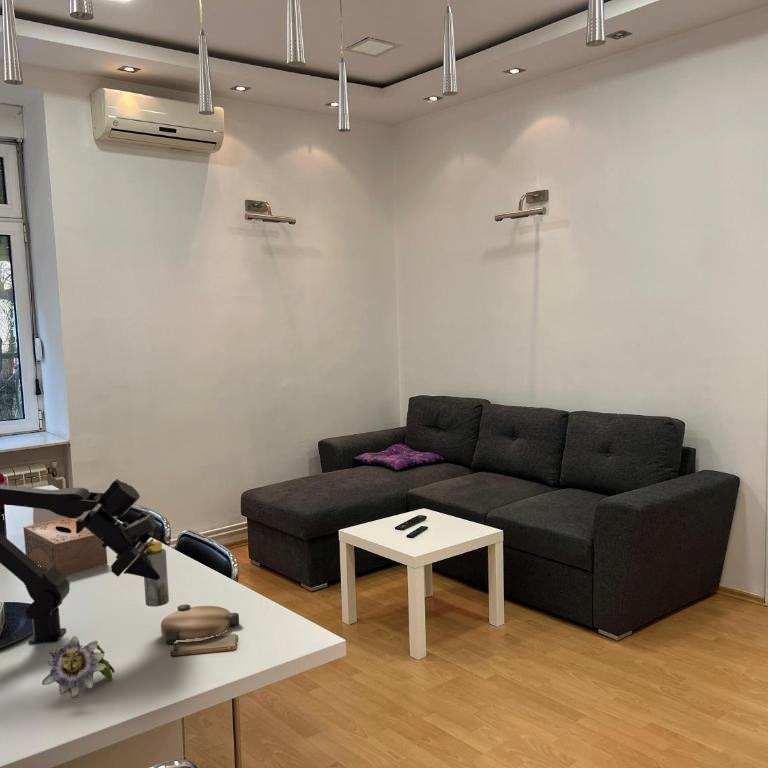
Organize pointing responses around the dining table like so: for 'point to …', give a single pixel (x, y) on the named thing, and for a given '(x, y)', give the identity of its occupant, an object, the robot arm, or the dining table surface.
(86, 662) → the passion flower
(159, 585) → the gold-capped silver cylinder
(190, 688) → the dining table surface
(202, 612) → the base plate
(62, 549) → the tissue box cover
